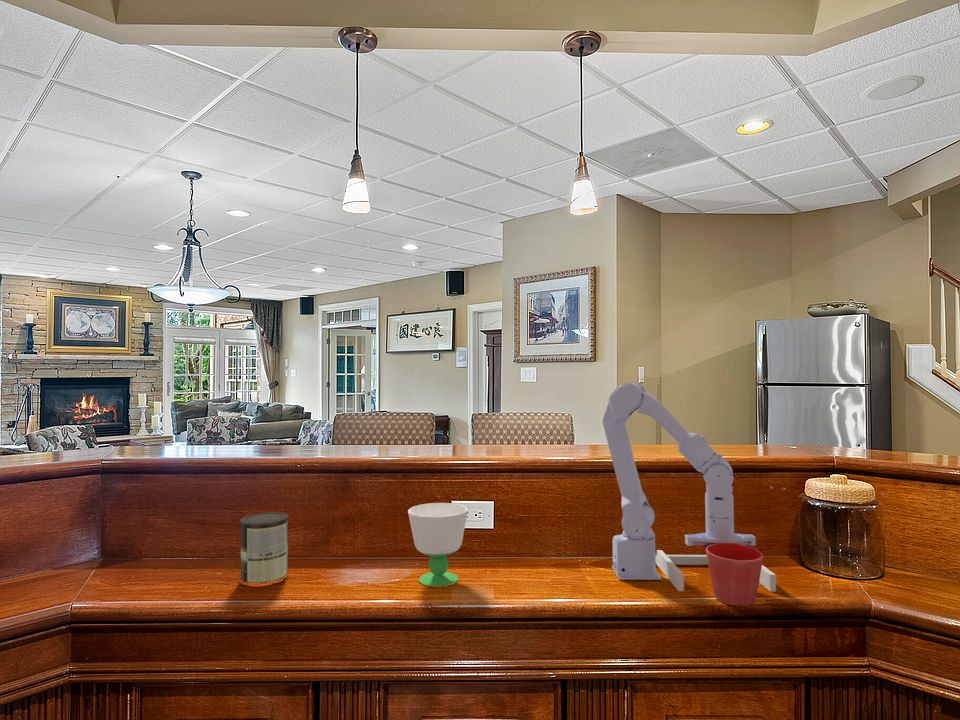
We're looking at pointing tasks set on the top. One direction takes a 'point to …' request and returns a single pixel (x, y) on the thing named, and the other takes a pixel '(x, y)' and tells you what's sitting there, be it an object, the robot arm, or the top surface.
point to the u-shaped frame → (677, 577)
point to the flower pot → (734, 572)
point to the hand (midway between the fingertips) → (720, 578)
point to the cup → (438, 537)
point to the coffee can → (264, 547)
